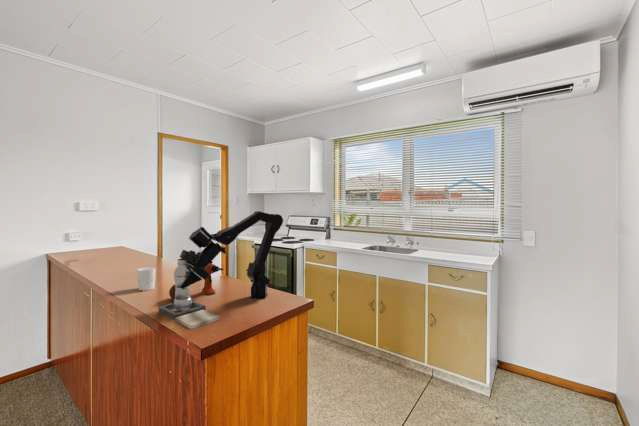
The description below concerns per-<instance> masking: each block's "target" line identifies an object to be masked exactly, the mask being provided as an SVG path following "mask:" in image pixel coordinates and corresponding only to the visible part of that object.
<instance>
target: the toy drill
mask: <svg viewBox="0 0 639 426" xmlns="http://www.w3.org/2000/svg"><path fill="white" fill-rule="evenodd" d="M205 270H206V271H207V272H208V273H209V277H208V278H207V279H206V280H204V285H203V287H202V290H201V293H202V294H203V295H205V296H213V295H215V294H216V290H214V288H213V283H212V282H213V279H212V274H214V273H217V272H219V271H224V268H223V267H222V268H221V267H219V266H217V265H215V264H213V263H212V264H209V265H208V266H207V267H206V268H205Z"/></svg>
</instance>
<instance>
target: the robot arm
mask: <svg viewBox="0 0 639 426" xmlns="http://www.w3.org/2000/svg"><path fill="white" fill-rule="evenodd" d="M260 221H261V222H263V223H264V230H265V231H264V233H263V236H262V239H261V243H260V245H259V248H258V251H257V254H256V257H255V260H254V261H253V262H249V263H248V267H247V268H246V276H247V278H248V279H249V280H250V282H251V286H250V299H263V300H264V299H266V298H267V297H268V295H269V293H268V285H269V284H270V279H269V277H267V276H266V271H267V268H266V262H267V259H268V257H269V253H270V250H271V247H272V244H273V241H274V238H275V236H276V234H277V233H278V231H279V230H280V229H281V227H282V225H283V223H284V218H283V216H282V215H280V214H278V213H266V212H263V211H261V210H259V211H258V210H256V211H253V213H252V214H250V215H248V216H247V217H245V218H243V219H242V220H241V221H239V222H237V223H236V224H234V225H232V226H228V227H226V228H223V229H221V230H218V231H217V232H216V233H211V234H210V233H209V232H208V230H206V228H205V227H203V226H200V227H199V228H197V229H196V230H194V231H193V232H192V233H191V234H190V235H189V237H188V240H190V241H191V242H192V243H193V244H194V245H196V246H197V247H198V248H199V249H201V248H203V249H202V250H201V251H199V252H196V251H195V250H191V249H190V250H189V251H188V250H186V249H182V251H181V253H180V255H179V258H180V259H185V260H188V264H187V265H188V267H189V268H190V269H191V270H190V269H189V275H188V276H187V278H186V279H185V281H184V282H183V283H182V285H181V286H180V288H182V289H183V288H185V287H187V286H189V285H190V286H191V285H193V284H196V283H197V282H200V281H202V280H204V281H205V280H206V279H207V278H208V277H209V273H208V272H207V271H206V270H205V268H206V267H207V266H208V265H209V264H213V260H214V259H215V258H216V257H217V256H218V255H219V254H220V253H222V254H224V255H226V253H227V252H226V246H228V245H230V244H231V243H233V242H234V241H235V240H236V239H237V238H238V236H239V235H241V233H243V232H244V231H246V230H247V229H249V228H250V227H252V226H254V225H256V224H257V223H259V222H260ZM214 241H215V242H214ZM221 245H225V246H221Z"/></svg>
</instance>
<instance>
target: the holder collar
mask: <svg viewBox="0 0 639 426" xmlns="http://www.w3.org/2000/svg"><path fill="white" fill-rule="evenodd" d="M173 310H176V309H175V308H174V302H173V303H169V304H165V305H162V306H158V313H160V314H162V315H163V316H165V317H167V318H169V319H171V320H172V321H175V318H176V317H179V316H183V315H186V314H190V313H193V312H197V311H200V310H206V305H205V304H203V303H200V302H197V301H194V300H192V305H191V307H190V309H188V310H184V311H177V312H175V311H173ZM206 311H207V310H206Z"/></svg>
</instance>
